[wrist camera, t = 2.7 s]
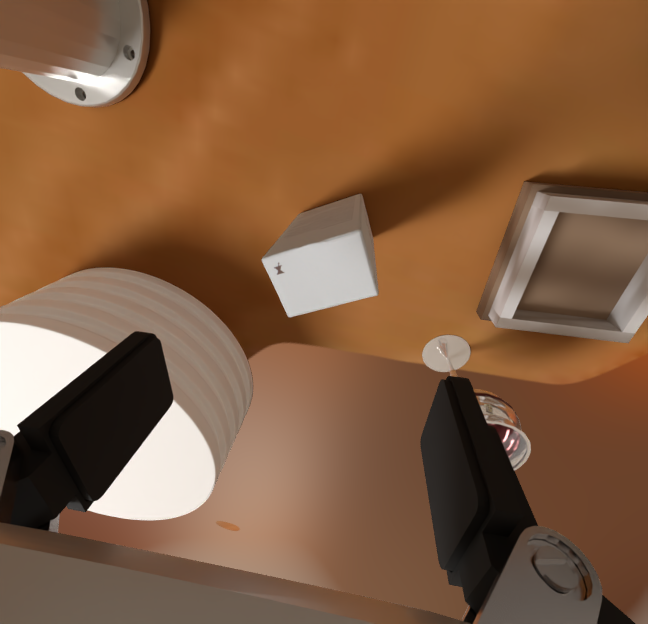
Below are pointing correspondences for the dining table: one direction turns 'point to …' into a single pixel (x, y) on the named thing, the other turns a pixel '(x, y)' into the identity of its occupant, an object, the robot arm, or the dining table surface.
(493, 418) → the wineglass
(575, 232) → the square tray
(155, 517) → the plate stack
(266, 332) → the dining table surface
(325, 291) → the skincare box
